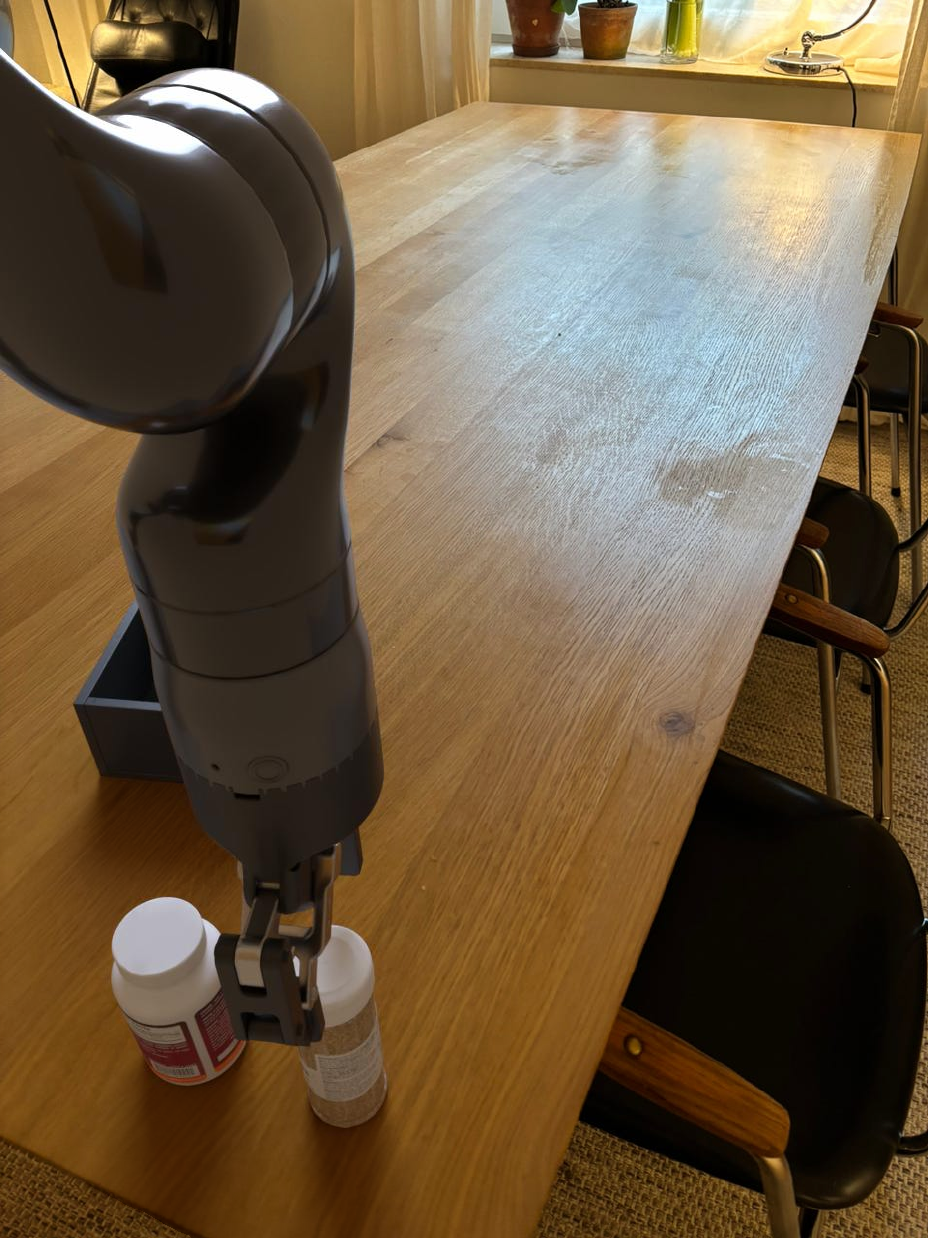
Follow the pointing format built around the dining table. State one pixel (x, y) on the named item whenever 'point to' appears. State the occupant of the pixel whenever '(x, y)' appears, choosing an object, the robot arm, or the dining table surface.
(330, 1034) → the sprinkles bottle
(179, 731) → the robot arm
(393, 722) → the dining table surface
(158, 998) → the pill bottle
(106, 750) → the dark grey open box
